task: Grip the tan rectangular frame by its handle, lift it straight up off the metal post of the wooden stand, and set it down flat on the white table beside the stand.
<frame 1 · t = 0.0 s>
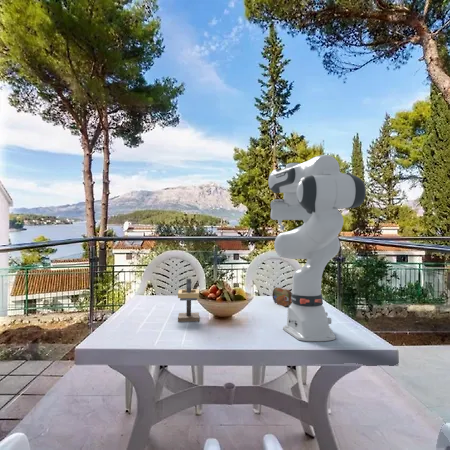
hand: (292, 229, 174), 39 cm above the table, tool pointing down, fingers open, 8 cm apart
tan rectangular frame: (188, 295, 167), point 10 cm above the table, touching stand
tin: (282, 305, 194), on the table
stand: (188, 318, 167), on the table
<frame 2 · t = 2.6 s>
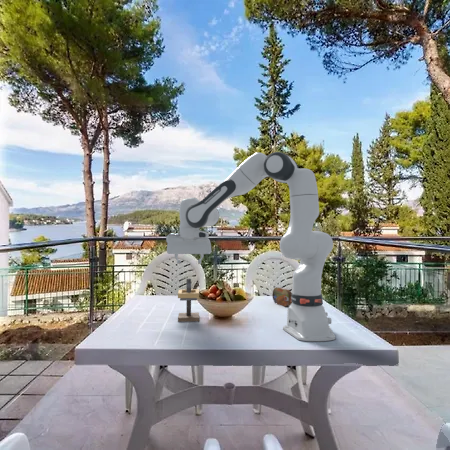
hand: (189, 263, 174), 23 cm above the table, tool pointing down, fingers open, 8 cm apart
nothing on the table moved.
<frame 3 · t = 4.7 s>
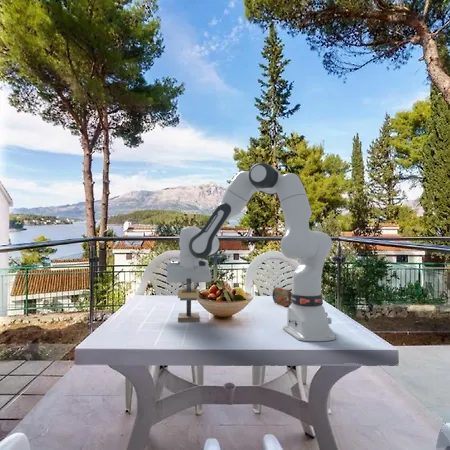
hand: (189, 292, 174), 10 cm above the table, tool pointing down, fingers closed on tan rectangular frame, 2 cm apart
tan rectangular frame: (188, 295, 167), point 10 cm above the table, touching gripper, stand
everything else where it was.
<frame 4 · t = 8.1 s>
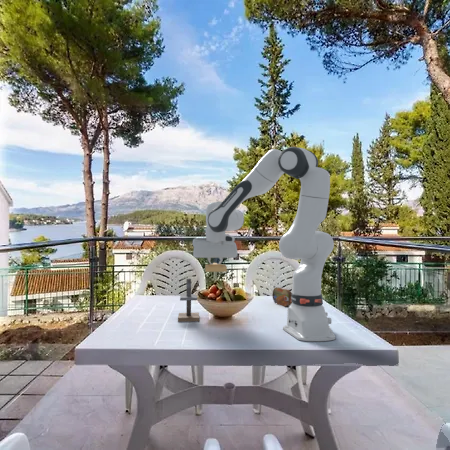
hand: (215, 267, 174), 21 cm above the table, tool pointing down, fingers closed on tan rectangular frame
tan rectangular frame: (215, 270, 168), point 21 cm above the table, touching gripper
everything else where it was.
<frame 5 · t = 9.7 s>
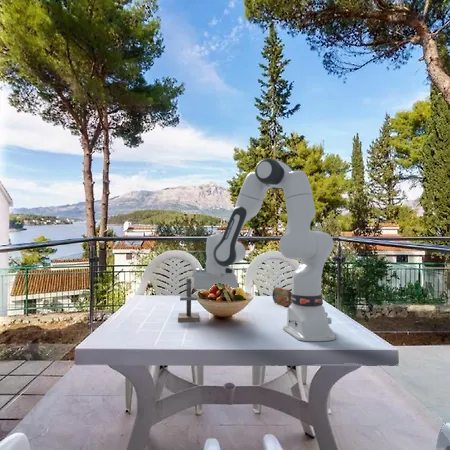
hand: (215, 298, 175), 7 cm above the table, tool pointing down, fingers closed on tan rectangular frame, 2 cm apart
tan rectangular frame: (215, 303, 168), point 7 cm above the table, touching gripper
everything else where it was.
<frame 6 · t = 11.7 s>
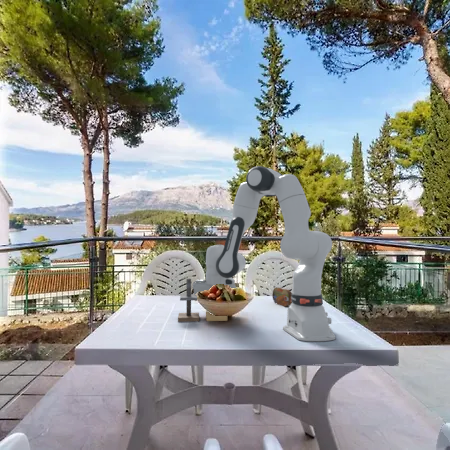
hand: (215, 310, 175), 2 cm above the table, tool pointing down, fingers open, 6 cm apart
tan rectangular frame: (216, 318, 168), on the table
everything else where it was.
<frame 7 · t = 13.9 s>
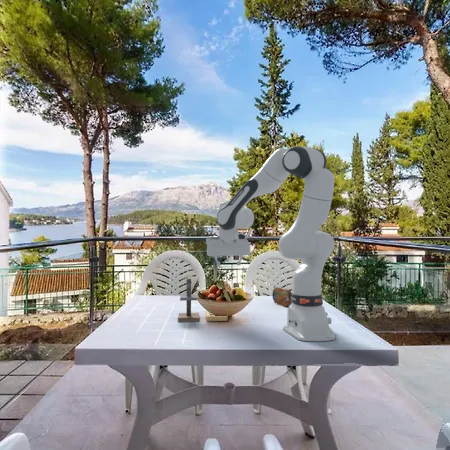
hand: (228, 265, 177), 22 cm above the table, tool pointing down, fingers open, 8 cm apart
nothing on the table moved.
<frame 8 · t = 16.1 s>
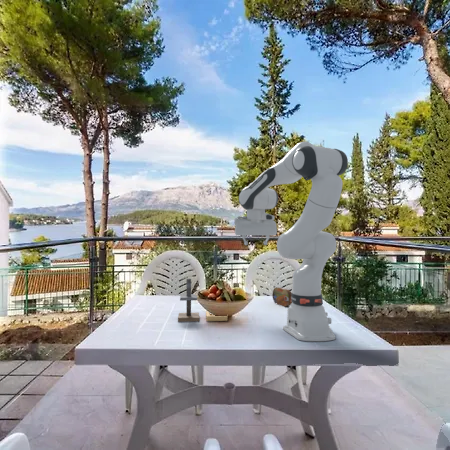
hand: (255, 244, 185), 31 cm above the table, tool pointing down, fingers open, 8 cm apart
nothing on the table moved.
at the end: tan rectangular frame inside the target area (0.4 cm from its centre), on the table; tan rectangular frame tilted 0°; the gripper is holding nothing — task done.
